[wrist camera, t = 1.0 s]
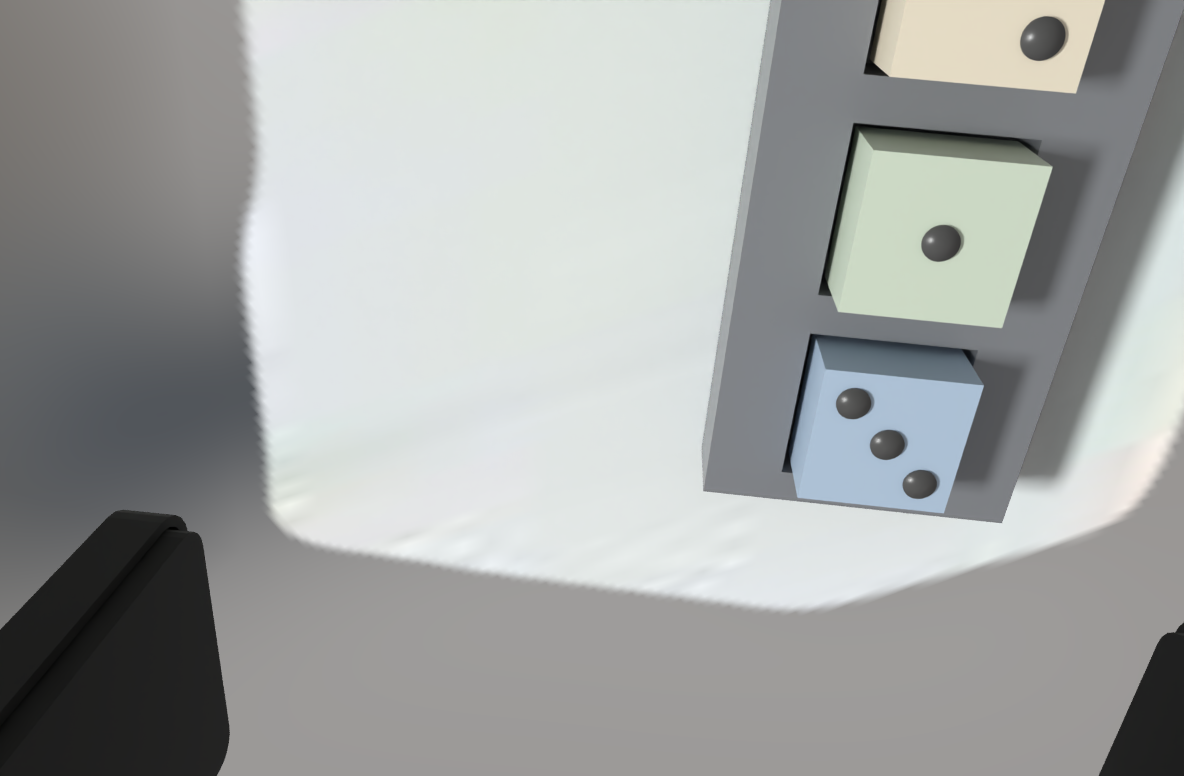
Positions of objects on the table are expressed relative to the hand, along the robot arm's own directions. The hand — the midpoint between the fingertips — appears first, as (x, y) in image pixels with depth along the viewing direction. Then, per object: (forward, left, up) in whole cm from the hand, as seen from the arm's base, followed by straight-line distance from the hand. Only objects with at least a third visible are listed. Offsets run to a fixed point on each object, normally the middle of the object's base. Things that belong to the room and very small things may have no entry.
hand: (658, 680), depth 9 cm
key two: (-5, +8, -23) cm, 25 cm away
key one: (+2, +8, -23) cm, 24 cm away
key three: (+9, +8, -23) cm, 26 cm away
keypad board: (+2, +8, -25) cm, 26 cm away
